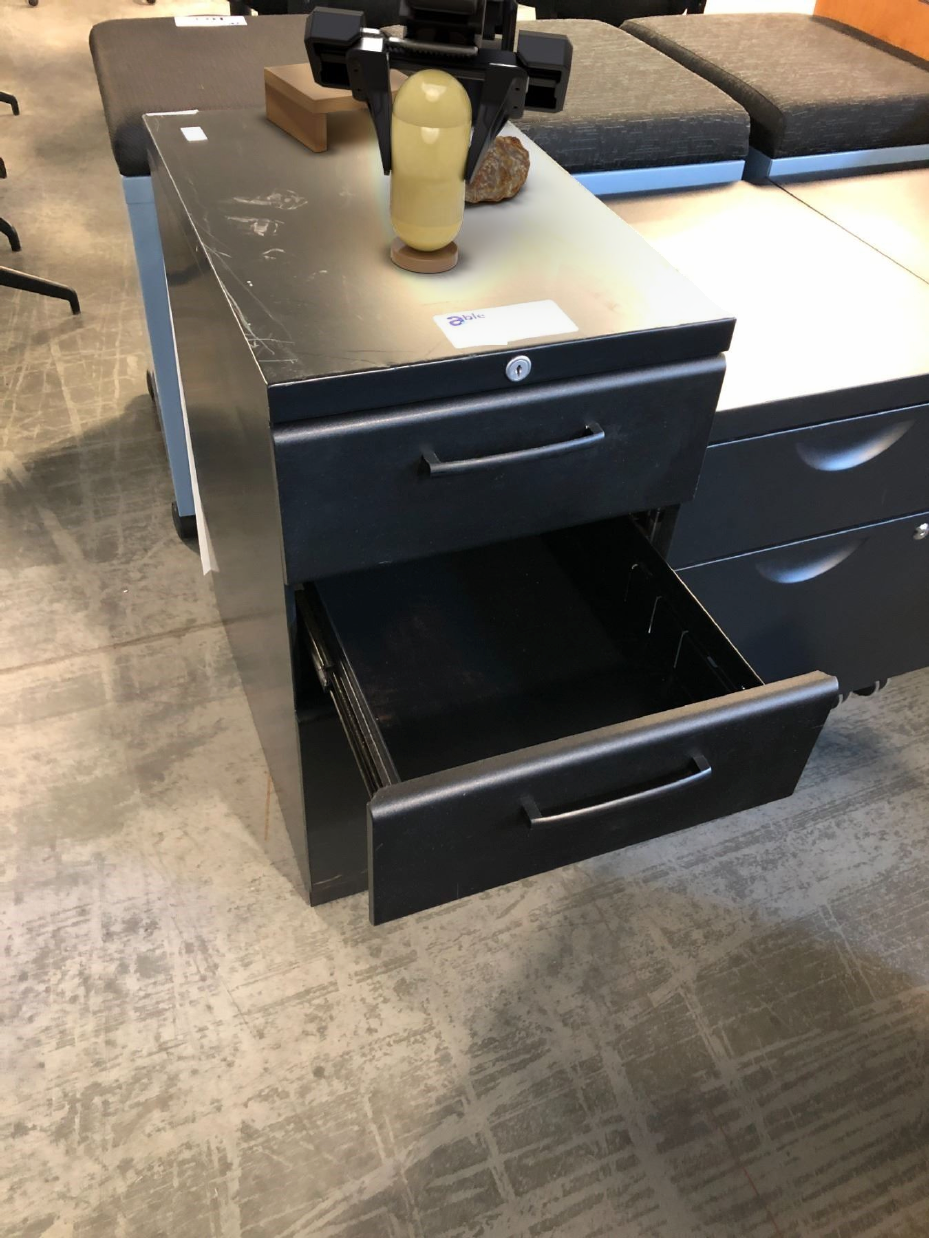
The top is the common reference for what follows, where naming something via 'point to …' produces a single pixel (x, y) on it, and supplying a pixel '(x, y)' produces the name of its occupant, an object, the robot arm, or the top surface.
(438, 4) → the robot arm
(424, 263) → the yellow capsule on stand
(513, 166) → the decorative stone
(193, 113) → the top surface
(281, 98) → the shelf
